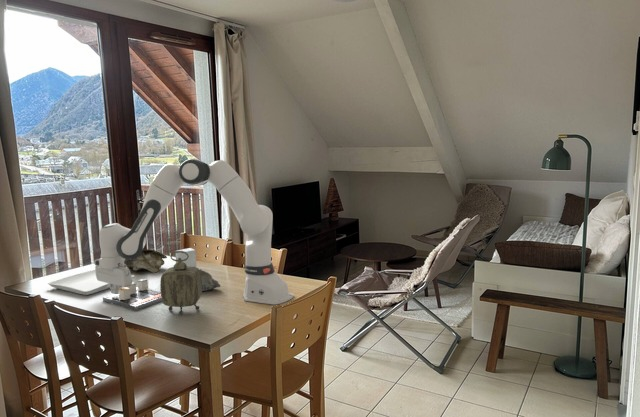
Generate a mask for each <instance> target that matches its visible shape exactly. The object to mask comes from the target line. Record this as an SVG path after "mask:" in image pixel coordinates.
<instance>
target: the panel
mask: <svg viewBox="0 0 640 417" xmlns="http://www.w3.org/2000/svg"><path fill="white" fill-rule="evenodd" d="M102 302H104V303H108V304H110V305H114V306H117V307H121V308H125V309H128V310H132V311H134V312H136V311H138V310H142V309H144V308H147V307H151V306H153V305H156V304H159V303H163V301H162V298H161V291H159V290H156V289H152V288H148V289H146V290H143V291H141V290H138V286H136V293H134V294H131V295H130V298H129V299H126V300H122V299H119V294H112V293H111V294H109V295H106V296H105V295H104V296H103V297H102Z"/></svg>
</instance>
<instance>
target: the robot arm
mask: <svg viewBox="0 0 640 417" xmlns="http://www.w3.org/2000/svg"><path fill="white" fill-rule="evenodd" d="M207 183H211V184H212V185H213V186H214V188H215V189H216V191H217V192H218V193H219V194H220V196H222V198H223V199H224V200H225V202H226V203H227V205H228V206H229V207H230V210H232V212H233V214H234V216H235V218H236V220H237V221H238V224H239V226H240V229H241V231H242V232H243V233H244V234H245V235H246V239H245V246H244V250H245V263H244V273H245V282H244V289H243V294H242V297H243V300H244V302H251V303H260V304H267V305H279V304H280V305H281V304H283V303H286V302H288V301H290V300H291V299H293V298H294V297H295V296H294V293H293V292H289V289H288V284H287V282H286V280H284V279H283V278H282V277H281V276H280V275H279V274H278V273H277V272H276V270H275V269H277V265H273V263H272V235H273V220H274V219H273V216H274V215H273V211H272V210H271V208H270V207H268V206H266V205H264V204H258V202H257V201H256V199H255V196H254V195H253V193H252V191H251V189H250V187H249V186H248V185H247V184H246V182H245V181H244V180H243V179H242V177H241V176H240V175H239V174H238V172H237V171H236V170H235V169H234V168H233V167H232V166H231V165H230V164H229V163H228V162H227V161H225V160H223V159H219V160H215V161H213V162H211V163H210V164H208V163H205V162H204V161H202V160H200V159H196V158H189V159H186V160H185V161H183V162H182V163H181V164H180V165H179V166H178V165H177V164H173V163H166V164H164V165H163V166H162V168H160V170H159V171H158V172H157V173H156V175H155V176H154V178H153V179H152V181H151V182H150V184H149V187H148V189H147V191H146V194H145V197H144V200H143V204H142V208H141V210H140V212H139V214H138V217H137V218H136V219H135V221H134V222H133V225H132V227H131V228H128V227H126V226H123V225H121V224H120V223H117V222H115V223H109V224H106V225H103V227H101V228H100V230H99V237H98V238H99V248H100V258H98V259H95V260H94V261H93V262H94V263H93V264H94V267H95V269H94V270H95V271H96V278H97V280H98V281H102V282H106V283H108V284H109V287H110V288H109V289H110V293H111V295H112V294H119V289H120V287H121V288H124V287H128V286H131V284H132V282H133V278H131V275H132V274H131V269H130V268H128V267H127V265H125V264H124V259H128V260H132V259H135V258H137V257H139V256H140V255H141V253H142V250H143V248H144V249H145V246H146V243H147V238H146V236H147V234H148V232H149V231H150V229H151V228H152V225H153V223H154V222H155V221H156V219H157V218H158V217H159V216H160V215H161V214H162V213H163V212H164V210H166V209H167V208H168V207H169V205H170V204H171V203H172V202H173V200H174V199H175V197H176V196H177V194H178V192H179V190H180V188H181V187H182V186H183V185H185V184H187V185H190V186H194V187H199V186H203V185H205V184H207Z"/></svg>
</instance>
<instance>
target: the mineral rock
mask: <svg viewBox="0 0 640 417" xmlns="http://www.w3.org/2000/svg"><path fill="white" fill-rule="evenodd" d="M199 271H200V273H201V279H202V292H204V291H205V292H206V291H211V290H215V289H216V288H220V287H221V284H220V282H219V281H218V280H216V279H214V278H213V277H212V275H211V274H210V273H209V272H207V271H205V270H202V269H201V268H200V269H199Z"/></svg>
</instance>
